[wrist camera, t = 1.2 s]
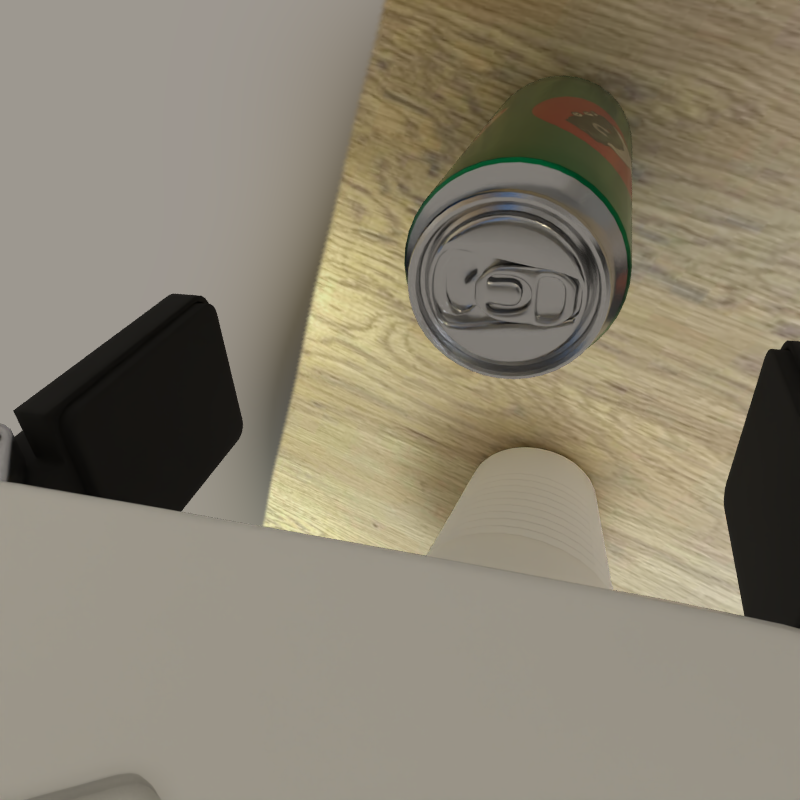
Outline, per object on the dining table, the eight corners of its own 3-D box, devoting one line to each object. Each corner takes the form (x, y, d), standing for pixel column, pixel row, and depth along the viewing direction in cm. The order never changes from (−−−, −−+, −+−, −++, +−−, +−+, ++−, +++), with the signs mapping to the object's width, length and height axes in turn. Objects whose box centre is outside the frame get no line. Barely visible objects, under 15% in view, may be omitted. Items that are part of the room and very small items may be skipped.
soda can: (490, 71, 22) (385, 165, 13) (645, 73, 21) (654, 178, 11) (484, 215, 25) (394, 378, 15) (618, 225, 24) (609, 408, 14)
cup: (400, 466, 34) (321, 642, 25) (549, 373, 28) (512, 562, 19) (520, 580, 36) (485, 778, 27) (681, 517, 30) (700, 742, 22)
